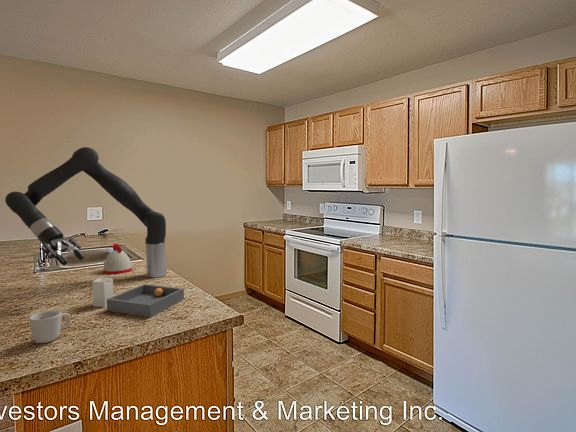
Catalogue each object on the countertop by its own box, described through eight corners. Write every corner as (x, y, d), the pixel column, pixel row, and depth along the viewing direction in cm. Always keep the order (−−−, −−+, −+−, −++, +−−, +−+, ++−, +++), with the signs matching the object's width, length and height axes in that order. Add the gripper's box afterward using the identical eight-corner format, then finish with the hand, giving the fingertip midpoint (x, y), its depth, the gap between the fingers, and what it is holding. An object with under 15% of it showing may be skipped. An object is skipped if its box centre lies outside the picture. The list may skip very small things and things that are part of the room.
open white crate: (93, 306, 133) (91, 281, 132) (102, 301, 138) (101, 277, 137) (105, 306, 132) (103, 281, 131) (114, 302, 137) (112, 278, 136)
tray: (144, 294, 147) (144, 284, 147) (184, 299, 141) (183, 288, 141) (107, 310, 128) (106, 299, 128) (150, 317, 122) (150, 305, 122)
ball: (158, 291, 144) (157, 285, 142) (164, 294, 143) (164, 288, 142) (152, 296, 141) (152, 290, 139) (159, 299, 141) (159, 293, 139)
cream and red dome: (123, 266, 195) (122, 240, 193) (137, 270, 187) (136, 243, 186) (98, 271, 184) (97, 244, 182) (111, 275, 176) (110, 247, 174)
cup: (65, 328, 113) (64, 305, 112) (76, 334, 108) (75, 310, 107) (26, 341, 104) (24, 316, 103) (37, 348, 99) (35, 322, 98)
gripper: (36, 228, 128) (66, 258, 128) (66, 223, 142) (92, 251, 142) (25, 241, 129) (54, 272, 129) (55, 235, 143) (82, 263, 143)
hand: (74, 261), depth 135 cm, fingers open, 8 cm apart
